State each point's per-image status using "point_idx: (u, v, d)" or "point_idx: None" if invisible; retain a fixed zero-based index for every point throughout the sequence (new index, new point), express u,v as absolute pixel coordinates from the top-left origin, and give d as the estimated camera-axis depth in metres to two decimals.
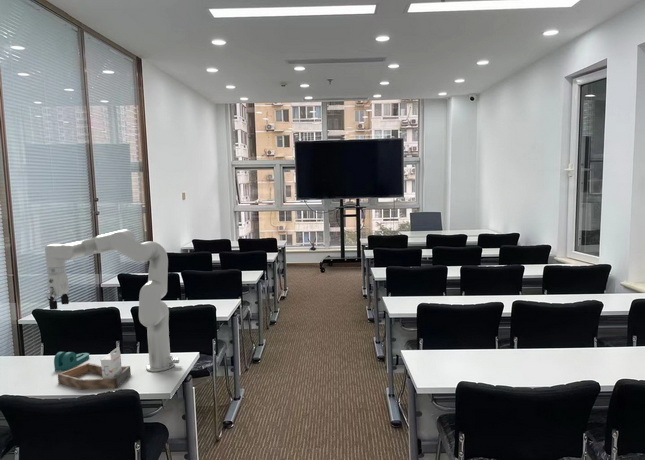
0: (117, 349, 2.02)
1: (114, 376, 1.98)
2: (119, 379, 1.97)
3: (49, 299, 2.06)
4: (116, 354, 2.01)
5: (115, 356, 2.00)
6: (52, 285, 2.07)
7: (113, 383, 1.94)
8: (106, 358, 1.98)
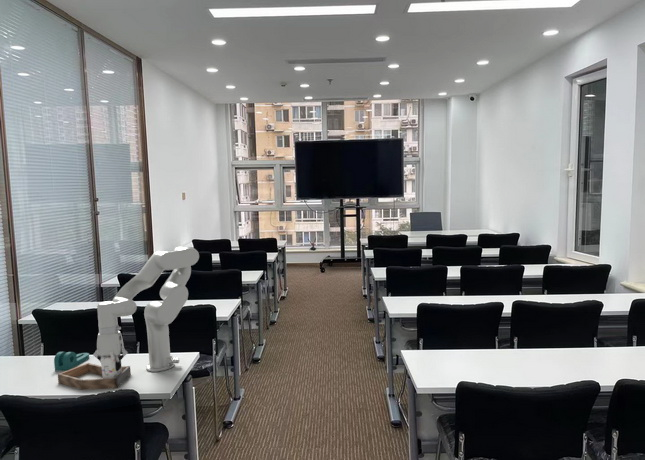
0: None
1: (114, 376, 1.98)
2: (119, 379, 1.97)
3: (121, 358, 2.00)
4: None
5: None
6: (121, 342, 2.00)
7: (113, 383, 1.94)
8: (106, 358, 1.98)
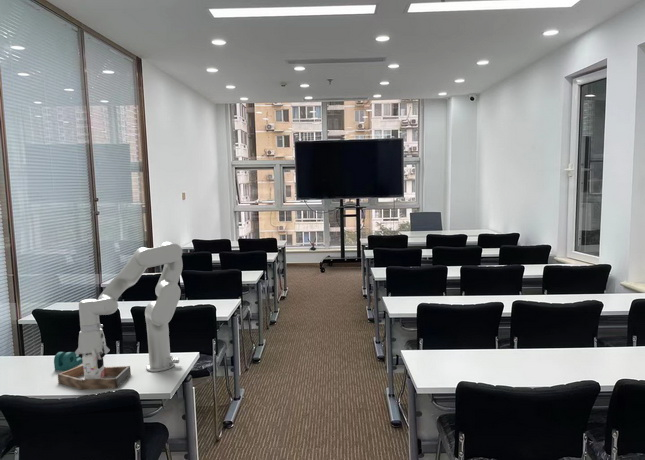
0: None
1: (96, 374, 1.98)
2: (119, 379, 1.97)
3: (103, 356, 2.00)
4: None
5: None
6: (103, 340, 2.00)
7: (113, 383, 1.94)
8: (88, 356, 1.97)
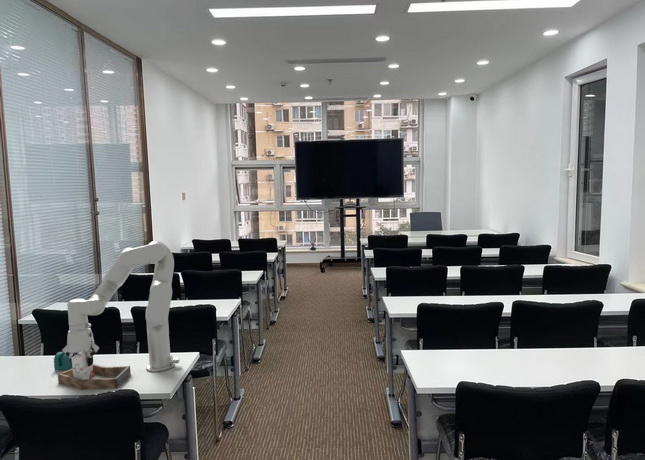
0: None
1: (85, 374, 2.02)
2: (119, 379, 1.97)
3: (93, 354, 2.04)
4: None
5: (86, 354, 2.04)
6: (91, 339, 2.04)
7: (113, 383, 1.94)
8: (77, 356, 2.01)
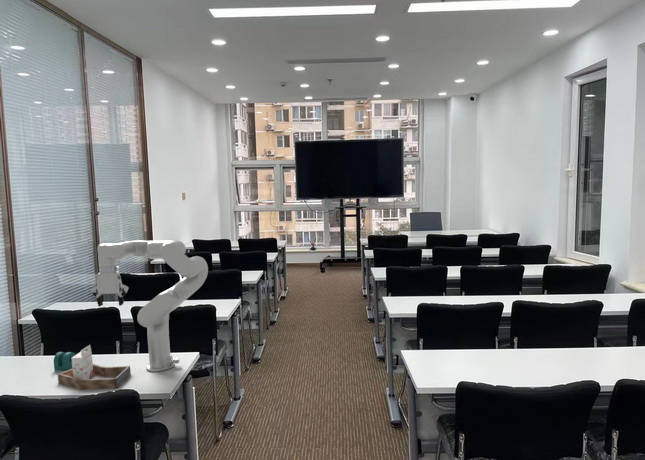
0: (88, 347, 2.06)
1: (85, 374, 2.02)
2: (119, 379, 1.97)
3: (124, 294, 2.15)
4: (87, 352, 2.05)
5: (86, 354, 2.04)
6: (120, 281, 2.15)
7: (113, 383, 1.94)
8: (77, 356, 2.01)
